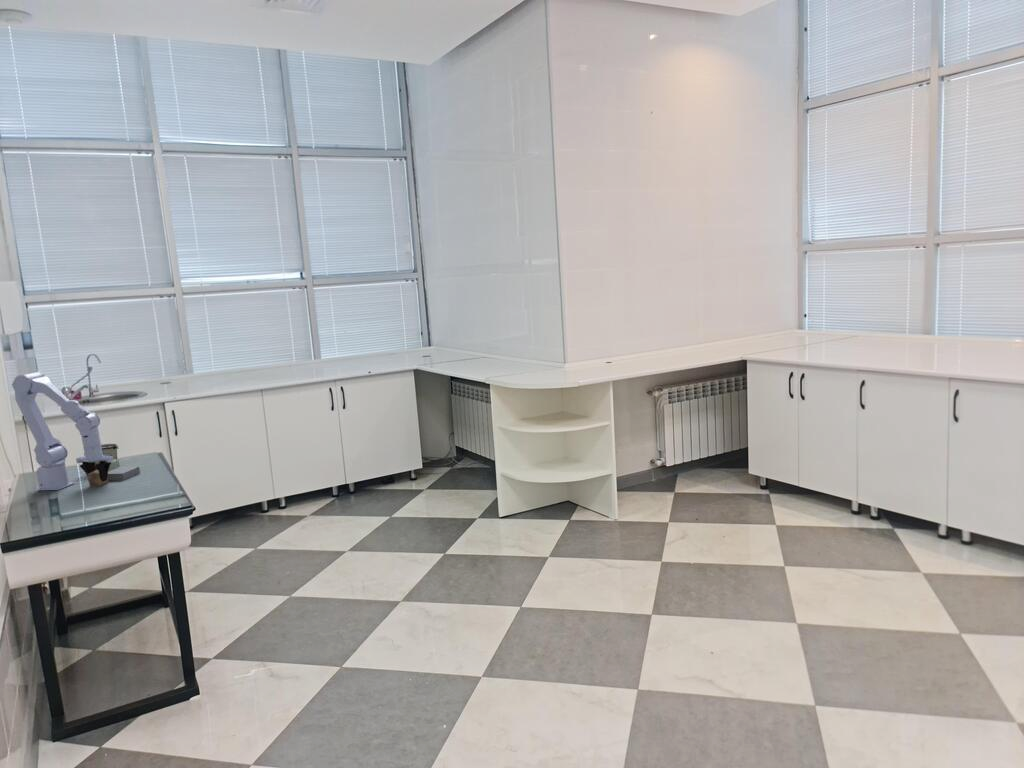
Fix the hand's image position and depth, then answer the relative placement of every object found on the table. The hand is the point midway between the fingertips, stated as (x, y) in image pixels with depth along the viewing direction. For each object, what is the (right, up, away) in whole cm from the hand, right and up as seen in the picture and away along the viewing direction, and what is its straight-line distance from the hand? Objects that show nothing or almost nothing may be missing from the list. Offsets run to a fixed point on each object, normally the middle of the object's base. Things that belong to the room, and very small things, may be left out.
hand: (98, 480), depth 270 cm
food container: (-11, +1, +22) cm, 25 cm away
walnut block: (0, -1, 0) cm, 1 cm away
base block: (+4, 0, +9) cm, 10 cm away
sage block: (-4, +1, +16) cm, 16 cm away
